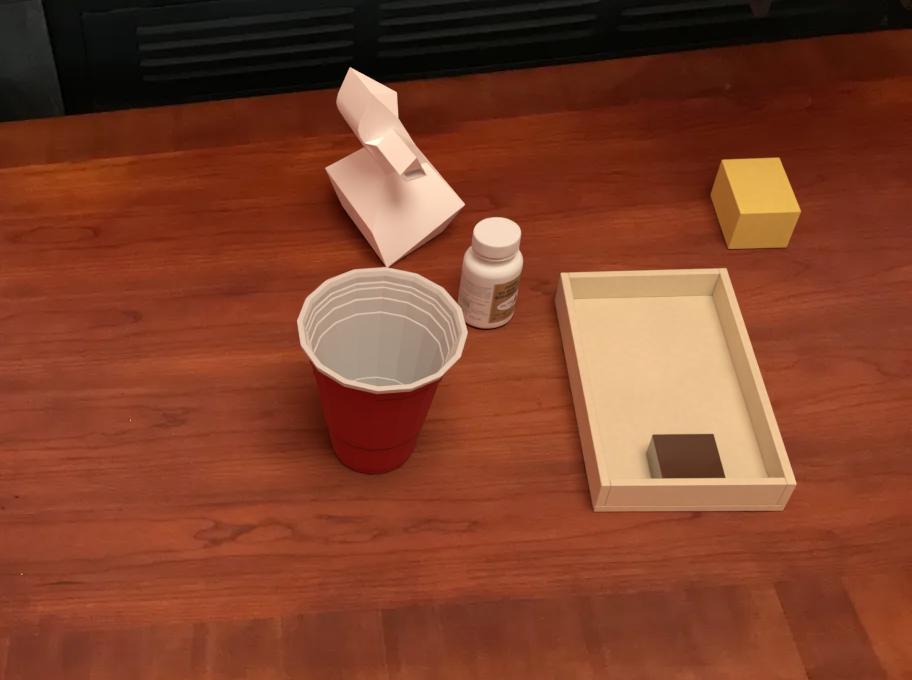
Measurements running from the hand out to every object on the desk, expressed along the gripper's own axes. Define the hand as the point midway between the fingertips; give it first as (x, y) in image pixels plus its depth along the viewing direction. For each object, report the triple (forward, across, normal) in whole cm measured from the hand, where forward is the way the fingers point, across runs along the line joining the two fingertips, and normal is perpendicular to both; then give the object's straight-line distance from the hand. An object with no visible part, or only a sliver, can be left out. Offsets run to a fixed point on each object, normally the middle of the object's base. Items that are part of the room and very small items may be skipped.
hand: (829, 3), depth 79 cm
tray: (+18, +10, +20) cm, 29 cm away
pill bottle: (+18, +22, +10) cm, 30 cm away
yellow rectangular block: (+18, 0, 0) cm, 18 cm away
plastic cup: (+18, +31, +24) cm, 43 cm away
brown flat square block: (+18, +11, +27) cm, 34 cm away
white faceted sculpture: (+18, +29, -2) cm, 34 cm away
